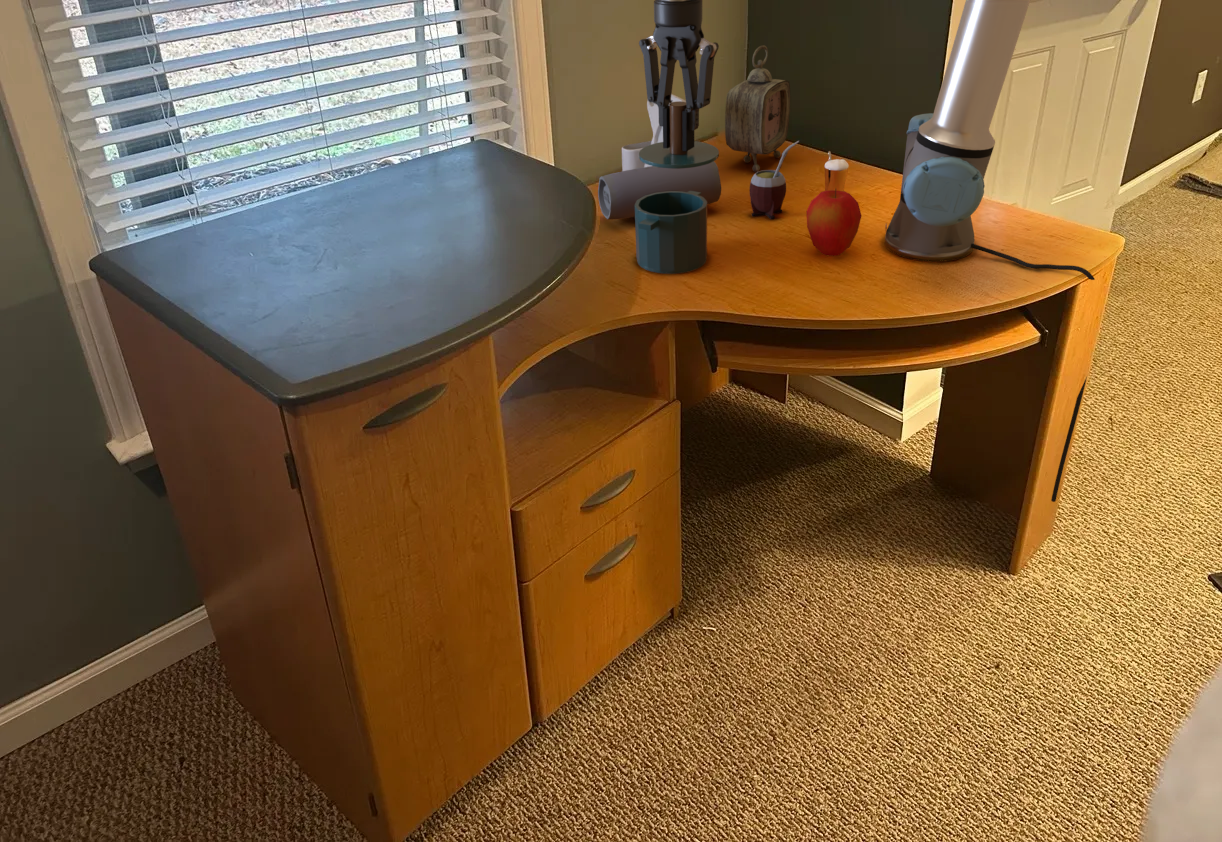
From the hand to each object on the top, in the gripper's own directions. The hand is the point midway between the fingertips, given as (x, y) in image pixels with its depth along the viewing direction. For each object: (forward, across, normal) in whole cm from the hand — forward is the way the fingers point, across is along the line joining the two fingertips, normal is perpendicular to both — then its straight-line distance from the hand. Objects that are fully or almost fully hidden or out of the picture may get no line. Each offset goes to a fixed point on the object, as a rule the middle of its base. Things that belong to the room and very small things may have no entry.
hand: (678, 147), depth 164 cm
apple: (+21, -22, -15) cm, 34 cm away
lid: (+1, 0, 0) cm, 1 cm away
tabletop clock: (+21, +11, -55) cm, 60 cm away
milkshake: (+21, -14, -38) cm, 45 cm away
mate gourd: (+21, -4, -28) cm, 35 cm away
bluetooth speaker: (+21, +14, -18) cm, 31 cm away
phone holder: (+21, +26, -35) cm, 48 cm away
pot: (+21, +2, 0) cm, 21 cm away
